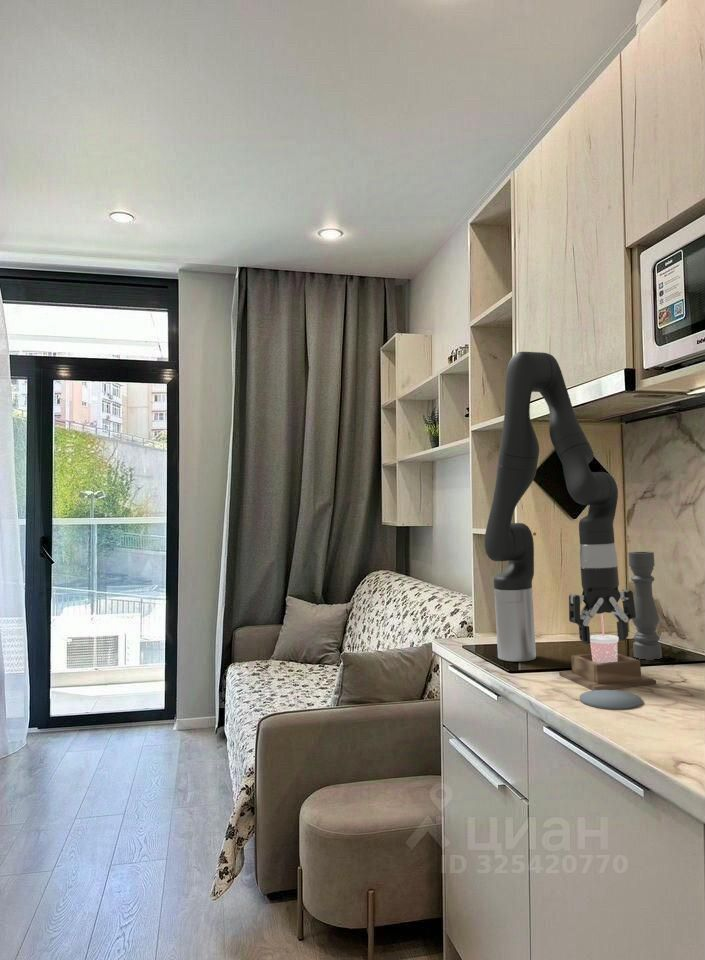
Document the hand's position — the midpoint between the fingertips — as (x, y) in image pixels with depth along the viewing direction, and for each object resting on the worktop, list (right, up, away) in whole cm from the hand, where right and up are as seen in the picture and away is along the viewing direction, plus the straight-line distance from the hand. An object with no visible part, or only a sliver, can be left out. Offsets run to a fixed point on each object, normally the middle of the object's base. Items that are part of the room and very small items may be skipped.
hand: (604, 641), depth 145 cm
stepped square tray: (0, -8, 0) cm, 8 cm away
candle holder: (+17, -8, +18) cm, 26 cm away
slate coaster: (-5, -8, -15) cm, 18 cm away
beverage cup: (0, -8, 0) cm, 8 cm away
